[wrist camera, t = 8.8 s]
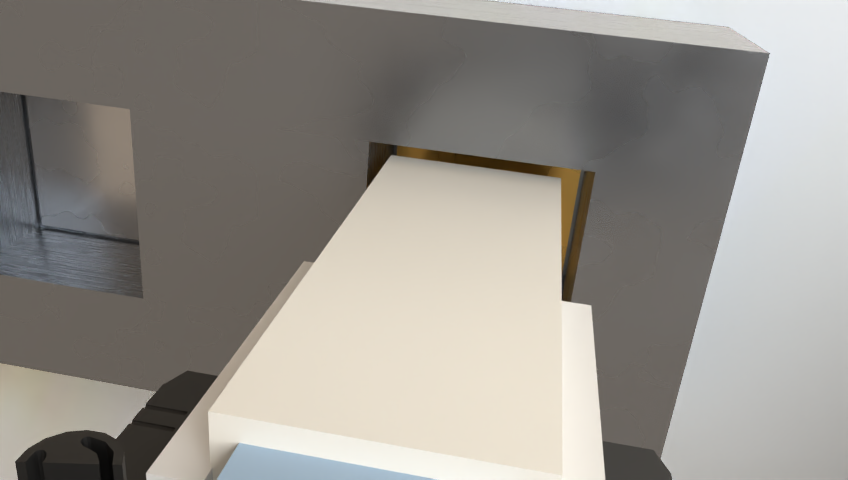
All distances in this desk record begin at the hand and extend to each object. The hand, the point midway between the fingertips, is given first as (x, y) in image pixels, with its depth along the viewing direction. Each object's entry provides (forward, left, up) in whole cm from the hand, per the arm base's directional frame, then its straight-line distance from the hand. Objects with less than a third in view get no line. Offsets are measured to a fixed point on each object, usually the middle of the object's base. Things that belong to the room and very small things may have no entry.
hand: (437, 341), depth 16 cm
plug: (0, 0, -5) cm, 5 cm away
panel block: (+6, 0, -9) cm, 11 cm away
